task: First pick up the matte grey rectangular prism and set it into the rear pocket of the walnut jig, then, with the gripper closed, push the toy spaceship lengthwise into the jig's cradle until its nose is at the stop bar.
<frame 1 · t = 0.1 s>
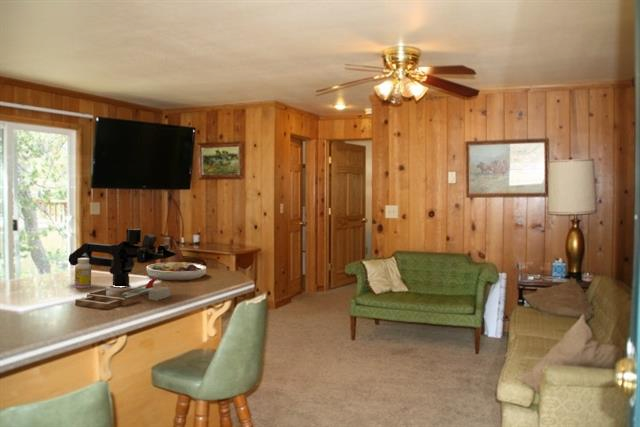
hand: (169, 255, 228), 17 cm above the counter, tool horizontal, fingers open, 9 cm apart
toy spaceship: (142, 294, 227), on the counter
supplement bottle: (82, 287, 232), on the counter
bowl: (176, 276, 270), on the counter
matte grey rectangular prism: (159, 298, 218), on the counter
jig: (114, 300, 210), on the counter
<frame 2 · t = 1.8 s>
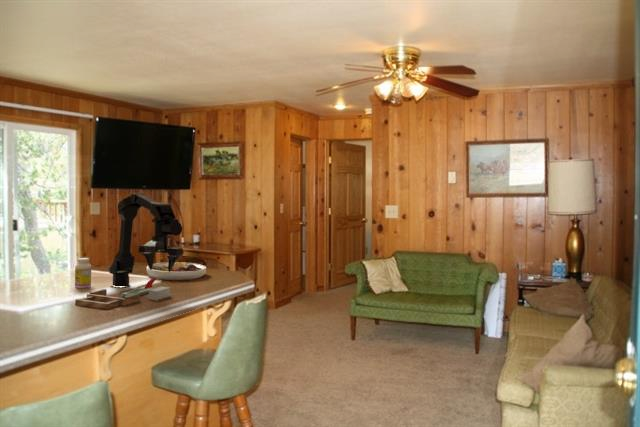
hand: (160, 270, 218), 12 cm above the counter, tool pointing down, fingers open, 9 cm apart
nothing on the counter moved.
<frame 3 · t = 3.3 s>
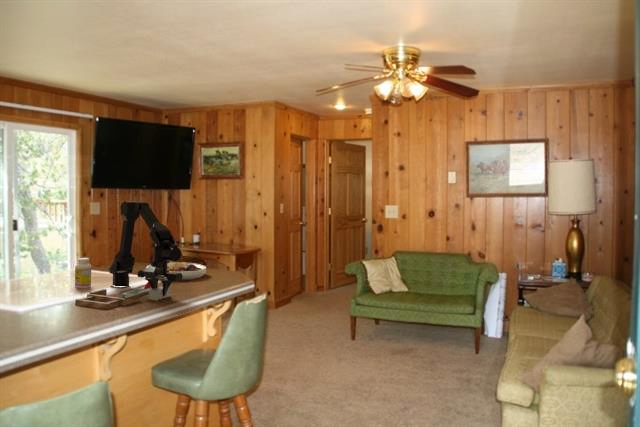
hand: (159, 295, 218), 1 cm above the counter, tool pointing down, fingers closed on matte grey rectangular prism, 4 cm apart
matte grey rectangular prism: (159, 297, 218), on the counter, touching gripper
everything else where it was.
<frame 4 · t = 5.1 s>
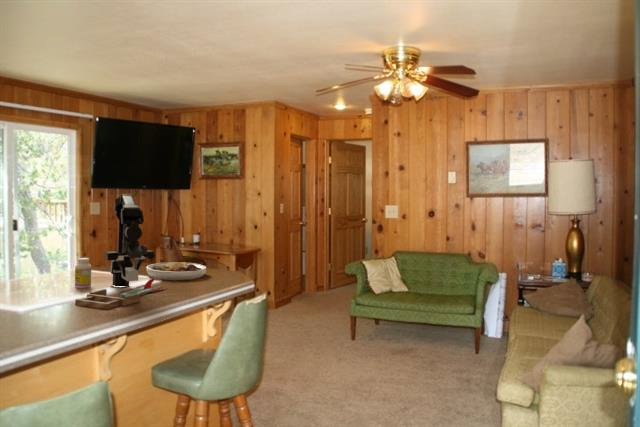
hand: (129, 276, 208), 10 cm above the counter, tool pointing down, fingers closed on matte grey rectangular prism, 4 cm apart
matte grey rectangular prism: (129, 279, 209), point 9 cm above the counter, touching gripper
when the fingers open (3 cm above the counter, at t = 7.0 s): matte grey rectangular prism drops 3 cm, resting in jig.
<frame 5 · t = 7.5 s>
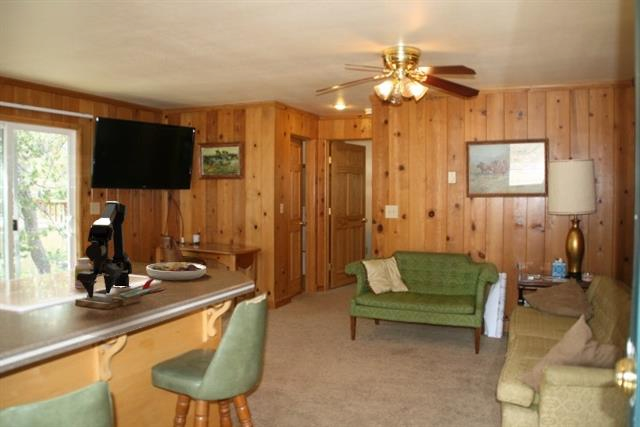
hand: (99, 295, 201), 3 cm above the counter, tool pointing down, fingers open, 9 cm apart
matte grey rectangular prism: (99, 305, 202), resting in jig
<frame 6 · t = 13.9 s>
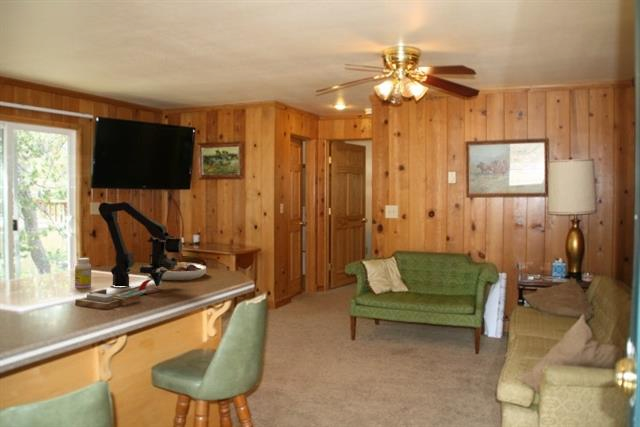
hand: (157, 285, 236), 1 cm above the counter, tool pointing down, fingers closed
toy spaceship: (135, 296, 221), on the counter
everything else where it was.
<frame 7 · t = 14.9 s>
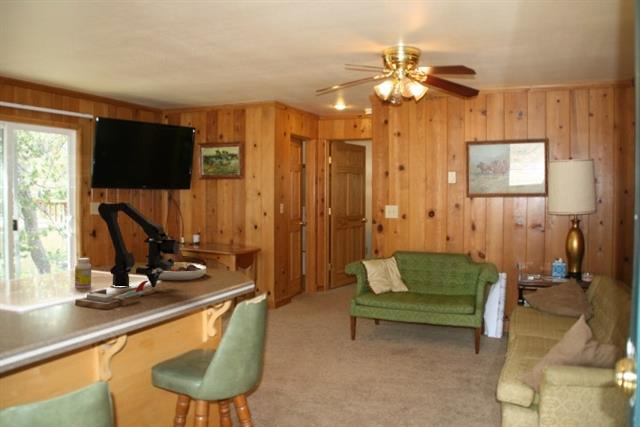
hand: (153, 287, 234), 1 cm above the counter, tool pointing down, fingers closed
toy spaceship: (133, 297, 219), on the counter
everything else where it was.
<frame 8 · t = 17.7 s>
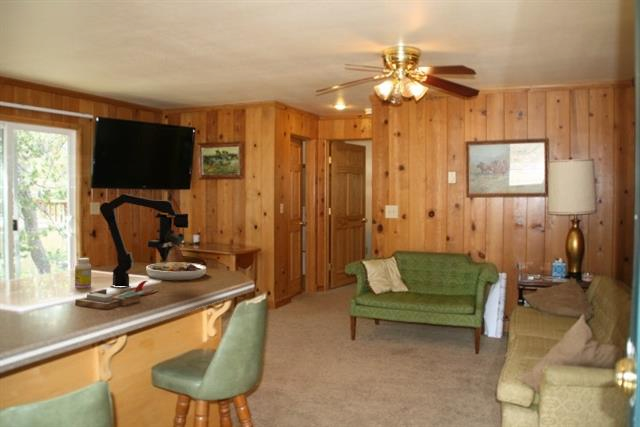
hand: (164, 261, 240), 12 cm above the counter, tool pointing down, fingers closed
nothing on the counter moved.
at the end: toy spaceship inside the target area (1.0 cm from its centre), on the counter; toy spaceship moved 8.1 cm from its start; matte grey rectangular prism inside the target area (0.1 cm from its centre), resting in jig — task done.
